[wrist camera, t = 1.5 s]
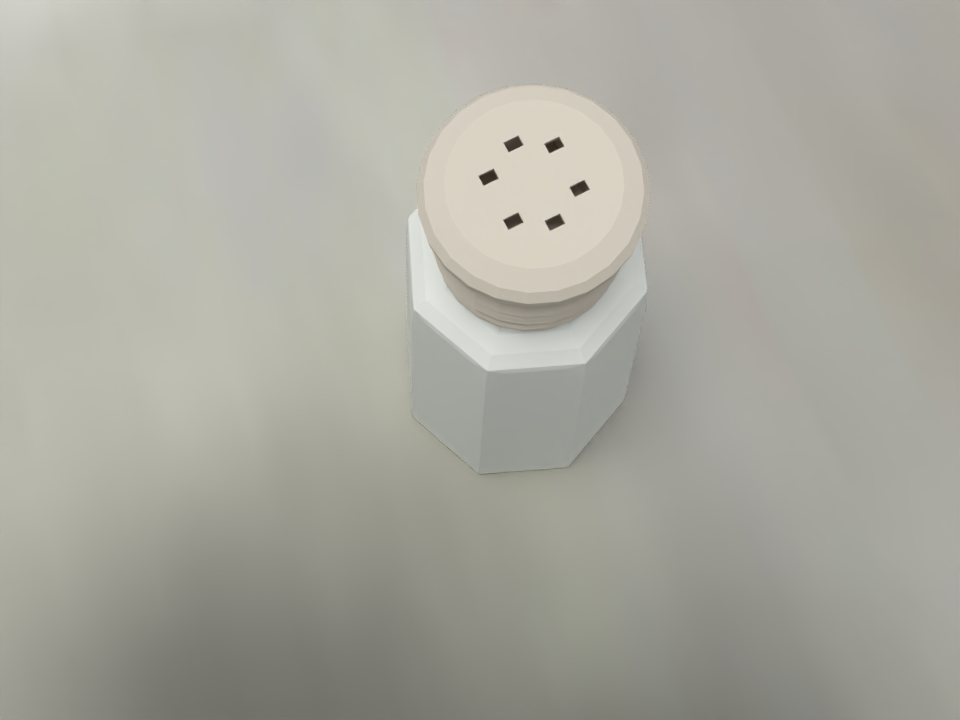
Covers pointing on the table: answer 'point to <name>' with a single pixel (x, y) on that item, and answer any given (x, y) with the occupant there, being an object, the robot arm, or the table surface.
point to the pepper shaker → (525, 277)
